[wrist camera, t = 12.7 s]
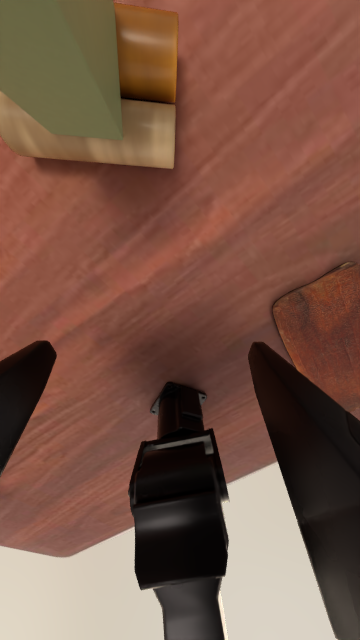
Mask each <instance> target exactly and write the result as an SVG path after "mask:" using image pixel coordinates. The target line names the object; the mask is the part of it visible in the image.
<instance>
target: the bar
mask: <svg viewBox="0 0 360 640" xmlns="http://www.w3.org/2000/svg"><path fill="white" fill-rule="evenodd" d="M0 91H1V92H2V93H4V94H5V95H6V96H7V97H8V98H10V99H11V100H12V101H13V102H14V103H16V104H17V105H18V106H19V107H20V108H22V109H23V110H24V111H25V112H26V113H27V114H29V115H30V116H31V117H32V118H33V119H35V120H36V121H37V122H38V123H39V124H41V125H42V126H43V127H44V128H45V129H47V130H48V131H49V132H50V133H52V134H59V135H70V136H81V137H92V138H102V139H113V140H123V128H122V113H121V98H120V83H119V68H118V53H117V38H116V23H115V8H114V3H113V0H0Z"/></svg>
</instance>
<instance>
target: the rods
mask: <svg viewBox="0 0 360 640" xmlns="http://www.w3.org/2000/svg"><path fill="white" fill-rule="evenodd" d="M114 8H115V23H116V38H117V53H118V68H119V83H120V97H128V98H137V99H146V100H154V101H163V102H172V103H174V102H175V99H176V80H177V53H178V13H177V12H171V11H164V10H158V9H152V8H145V7H139V6H132V5H126V4H119V3H114ZM121 113H122V128H123V140H113V139H102V138H92V137H81V136H70V135H59V134H52V133H50V132H49V131H48V130H47V129H45V128H44V127H43V126H42V125H41V124H39V123H38V122H37V121H36V120H35V119H33V118H32V117H31V116H30V115H29V114H27V113H26V112H25V111H24V110H23V109H22V108H20V107H19V106H18V105H17V104H16V103H14V102H13V101H12V100H11V99H10V98H8V97H7V96H6V95H5V94H4V93H2V92H1V91H0V135H1V137H2V138H3V140H4V141H5V143H6V144H7V145H8V146H9V147H10V149H11V150H13V151H14V152H15V153H16V154H18V155H20V156H27V157H39V158H51V159H62V160H74V161H86V162H97V163H109V164H121V165H133V166H144V167H156V168H168V169H173V168H174V152H175V122H176V107H175V105H171V104H162V103H153V102H145V101H136V100H127V99H121Z"/></svg>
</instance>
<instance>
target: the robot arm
mask: <svg viewBox="0 0 360 640" xmlns="http://www.w3.org/2000/svg"><path fill="white" fill-rule="evenodd" d="M56 357H57V354H56V352H55V350H54V348H53V347H52V345H51V344H50V342H49V341H36V342H34V343H32V344H30V345H28V346H27V347H25V348H23V349H21V350H20V351H18V352H16V353H14V354H12V355H11V356H9V357H7V358H5V359H4V360H2V361H0V476H1V474H2V472H3V470H4V469H5V467H6V465H7V463H8V461H9V459H10V457H11V455H12V453H13V451H14V449H15V447H16V445H17V443H18V441H19V439H20V437H21V435H22V433H23V431H24V429H25V427H26V425H27V423H28V421H29V419H30V417H31V415H32V413H33V411H34V409H35V407H36V405H37V403H38V401H39V399H40V397H41V395H42V393H43V391H44V389H45V386H46V384H47V381H48V378H49V376H50V373H51V371H52V368H53V365H54V363H55V360H56ZM248 360H249V365H250V370H251V375H252V380H253V385H254V389H255V393H256V396H257V399H258V402H259V405H260V408H261V412H262V415H263V418H264V421H265V424H266V427H267V430H268V433H269V436H270V439H271V442H272V445H273V448H274V451H275V455H276V458H277V461H278V464H279V467H280V470H281V473H282V476H283V479H284V482H285V485H286V488H287V491H288V494H289V497H290V500H291V504H292V507H293V510H294V513H295V516H296V519H297V522H298V526H299V528H300V532H301V535H302V538H303V541H304V544H305V547H306V550H307V553H308V556H309V559H310V562H311V565H312V569H313V572H314V575H315V577H316V581H317V584H318V587H319V590H320V593H321V596H322V599H323V602H324V605H325V608H326V612H327V615H328V618H329V621H330V624H331V627H332V630H333V632H334V635H335V638H336V639H337V640H360V421H359V420H358V419H357V418H356V417H354V416H353V415H352V414H351V413H349V412H348V411H345V409H344V408H343V407H342V406H341V405H340V404H338V403H337V402H336V401H335V400H333V399H332V398H331V397H330V396H329V395H327V394H326V393H325V392H324V391H322V390H321V389H320V388H319V387H318V386H316V385H315V384H314V383H313V382H312V381H310V380H309V379H308V378H307V377H305V376H304V375H303V374H302V373H301V372H299V371H298V370H297V369H296V368H294V367H293V366H292V365H291V364H290V363H288V362H287V361H286V360H285V359H283V358H282V357H281V356H280V355H279V354H277V353H276V352H275V351H274V350H272V349H271V348H270V347H269V346H268V345H266V344H265V343H264V342H253V343H252V345H251V348H250V351H249V354H248ZM169 385H170V386H169ZM203 396H204V397H203ZM206 398H207V395H206V394H205V393H203V392H200V391H196V390H193V389H190V388H187V387H184V386H181V385H178V384H175V383H172V382H167V383H166V385H165V386H164V388H163V389H162V391H161V393H160V394H159V396H158V397H157V399H156V401H155V402H154V404H153V405H152V407H151V409H150V413H152V414H155V415H158V432H157V440H152V441H142V442H141V445H140V449H139V451H138V455H137V458H136V462H135V465H134V469H133V472H132V476H131V480H130V484H129V490H128V495H129V497H130V507H131V512H132V515H133V517H134V521H135V574H136V577H137V580H138V583H139V587H140V589H141V590H145V589H152V588H153V590H154V592H155V594H156V597H157V599H158V601H159V602H160V605H161V607H162V612H163V624H164V640H228V634H227V628H226V622H225V617H224V610H223V604H222V598H221V592H220V587H221V581H222V577H225V573H226V567H227V559H228V552H227V550H228V542H229V540H228V533H227V528H226V522H225V517H224V512H223V507H222V502H224V503H225V502H229V496H228V491H227V486H226V482H225V477H224V473H223V468H222V464H221V460H220V456H219V452H218V448H217V443H216V439H215V435H214V431H213V428H211V429H209V430H204V425H203V420H202V419H203V414H202V409H201V405H202V404H203V402H204V401H205V400H206Z"/></svg>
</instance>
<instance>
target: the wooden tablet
mask: <svg viewBox="0 0 360 640" xmlns="http://www.w3.org/2000/svg"><path fill="white" fill-rule="evenodd" d="M273 314H274V318H275V321H276V324H277V327H278V330H279V333H280V335H281V337H282V340H283V342H284V345H285V347H286V349H287V351H288V353H289V355H290V357H291V359H292V361H293V363H294V365H295V366H296V368H297V370H298V371H299V372H301V373H302V374H303V375H304V376H305V377H307V378H308V379H309V380H310V381H312V382H313V383H314V384H315V385H316V386H318V387H319V388H320V389H321V390H322V391H324V392H325V393H326V394H327V395H329V396H330V397H331V398H332V399H333V400H335V401H336V402H337V403H338V404H340V405H341V406H342V407H343V408H344V409H345V411H348V412H349V413H350V412H352V411H354V410H355V409H356V408H360V265H359V264H358V263H355V262H348V263H345V264H343V265H341V266H340V267H337V268H336V269H334V270H333V271H330V272H329V273H327V274H325V275H324V276H323V277H321V278H320V279H318V280H316V281H314V282H313V283H311V284H308V285H305V286H303V287H300V288H298V289H295V290H294V291H292V292H290V293H288V294H286V295H285V296H283V297H282V298H280V299H279V300H278V301H277V302H276V303H275V304H274V306H273Z"/></svg>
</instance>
